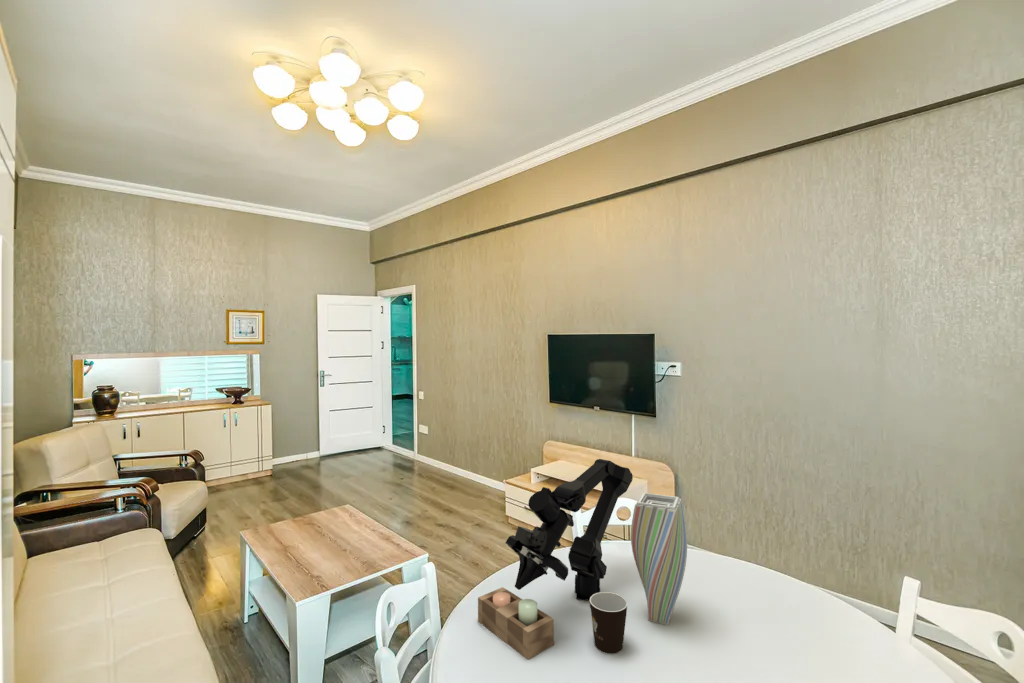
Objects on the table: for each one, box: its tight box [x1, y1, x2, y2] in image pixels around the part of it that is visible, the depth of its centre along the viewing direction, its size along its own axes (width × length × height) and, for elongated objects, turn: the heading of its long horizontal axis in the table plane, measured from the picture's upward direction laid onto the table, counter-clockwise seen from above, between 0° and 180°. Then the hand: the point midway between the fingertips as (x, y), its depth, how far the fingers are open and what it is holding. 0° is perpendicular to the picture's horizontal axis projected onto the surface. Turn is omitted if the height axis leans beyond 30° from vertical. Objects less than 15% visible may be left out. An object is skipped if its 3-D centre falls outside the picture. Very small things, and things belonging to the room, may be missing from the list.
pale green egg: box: [519, 598, 538, 626], centre depth 110 cm, size 4×4×5 cm
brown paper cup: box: [589, 591, 628, 655], centre depth 111 cm, size 12×9×10 cm
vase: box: [630, 492, 688, 626], centre depth 120 cm, size 14×14×30 cm
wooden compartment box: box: [477, 586, 555, 660], centre depth 114 cm, size 8×19×6 cm, turn 40°
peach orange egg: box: [493, 592, 510, 608], centre depth 118 cm, size 4×4×5 cm
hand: (516, 588), depth 113 cm, fingers closed
